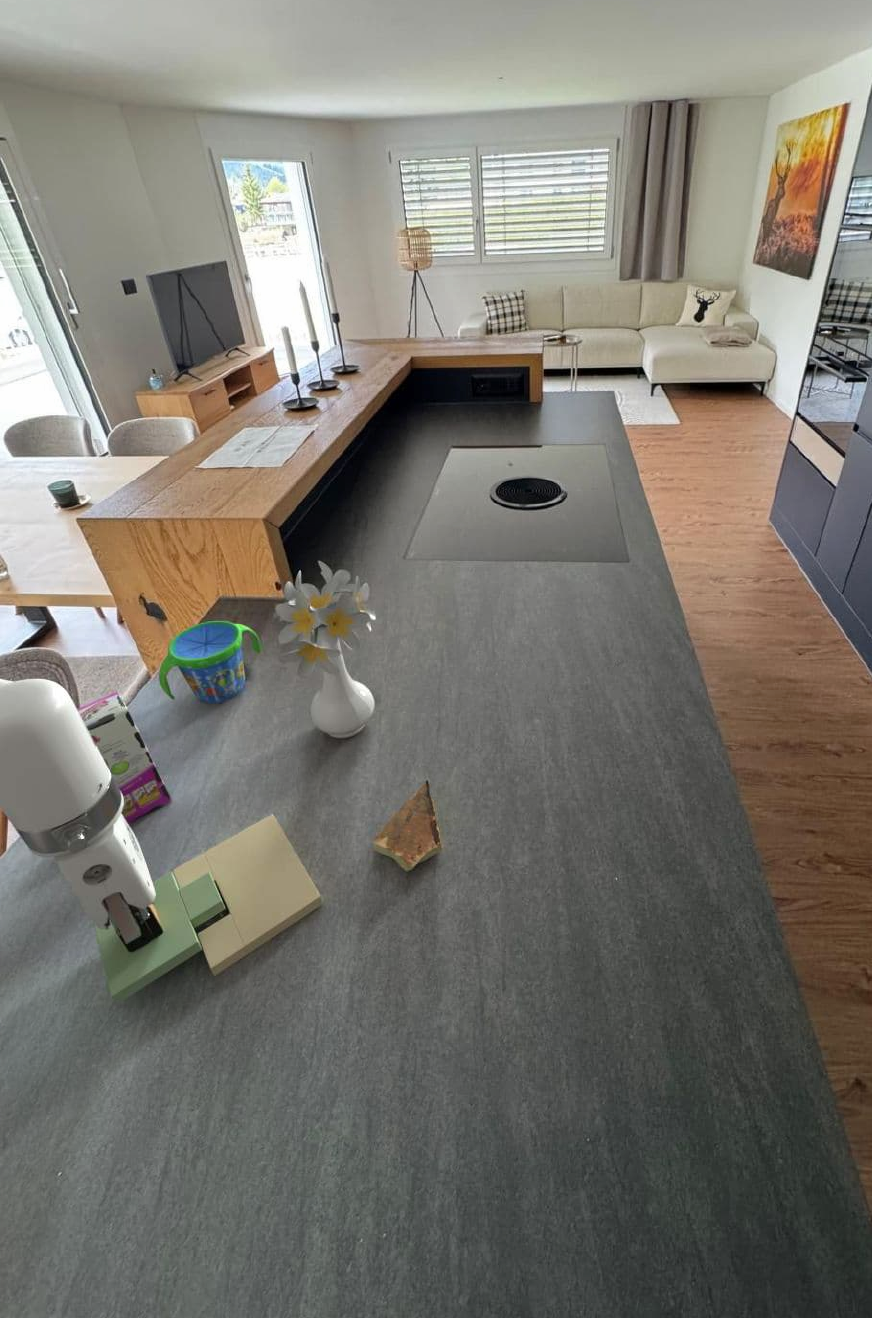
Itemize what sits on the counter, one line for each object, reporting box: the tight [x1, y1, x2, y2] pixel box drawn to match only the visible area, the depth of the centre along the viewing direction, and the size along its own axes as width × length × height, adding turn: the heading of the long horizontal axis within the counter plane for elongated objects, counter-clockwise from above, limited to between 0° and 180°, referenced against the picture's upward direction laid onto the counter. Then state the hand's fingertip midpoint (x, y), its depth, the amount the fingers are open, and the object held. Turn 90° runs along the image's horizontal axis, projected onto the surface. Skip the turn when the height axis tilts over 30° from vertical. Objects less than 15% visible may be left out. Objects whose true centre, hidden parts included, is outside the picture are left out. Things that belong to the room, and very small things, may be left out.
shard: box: [372, 779, 444, 872], centre depth 76 cm, size 11×8×2 cm
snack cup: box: [158, 620, 262, 704], centre depth 98 cm, size 16×11×10 cm
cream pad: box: [172, 813, 324, 977], centre depth 70 cm, size 12×14×2 cm
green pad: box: [92, 871, 226, 1005], centre depth 63 cm, size 11×10×8 cm
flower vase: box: [272, 560, 377, 739], centre depth 86 cm, size 13×18×25 cm
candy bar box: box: [76, 690, 172, 825], centre depth 76 cm, size 11×5×16 cm, turn 131°
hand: (141, 925), depth 63 cm, fingers closed on green pad, 3 cm apart
